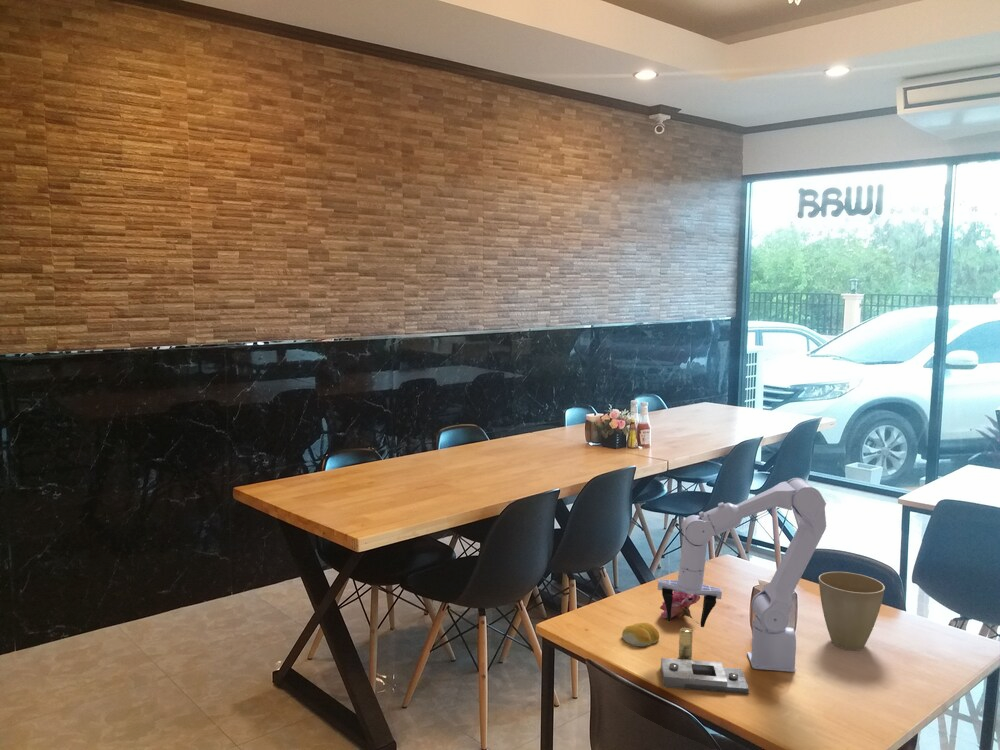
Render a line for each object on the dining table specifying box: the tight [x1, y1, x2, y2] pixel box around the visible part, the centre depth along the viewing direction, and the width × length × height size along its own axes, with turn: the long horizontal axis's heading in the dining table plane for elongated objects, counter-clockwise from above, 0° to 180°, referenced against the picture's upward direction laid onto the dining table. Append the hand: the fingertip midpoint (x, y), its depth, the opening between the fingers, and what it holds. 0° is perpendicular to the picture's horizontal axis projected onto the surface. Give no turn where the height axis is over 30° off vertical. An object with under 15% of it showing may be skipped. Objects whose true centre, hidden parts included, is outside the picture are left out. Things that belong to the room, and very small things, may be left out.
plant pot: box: [818, 571, 886, 651], centre depth 190 cm, size 15×15×16 cm
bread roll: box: [621, 622, 660, 647], centre depth 192 cm, size 8×9×4 cm
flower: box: [659, 591, 701, 625], centre depth 204 cm, size 11×10×10 cm
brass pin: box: [678, 627, 694, 660], centre depth 181 cm, size 3×3×7 cm
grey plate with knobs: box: [660, 657, 750, 695], centre depth 171 cm, size 18×9×3 cm, turn 82°
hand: (685, 622), depth 181 cm, fingers open, 7 cm apart
